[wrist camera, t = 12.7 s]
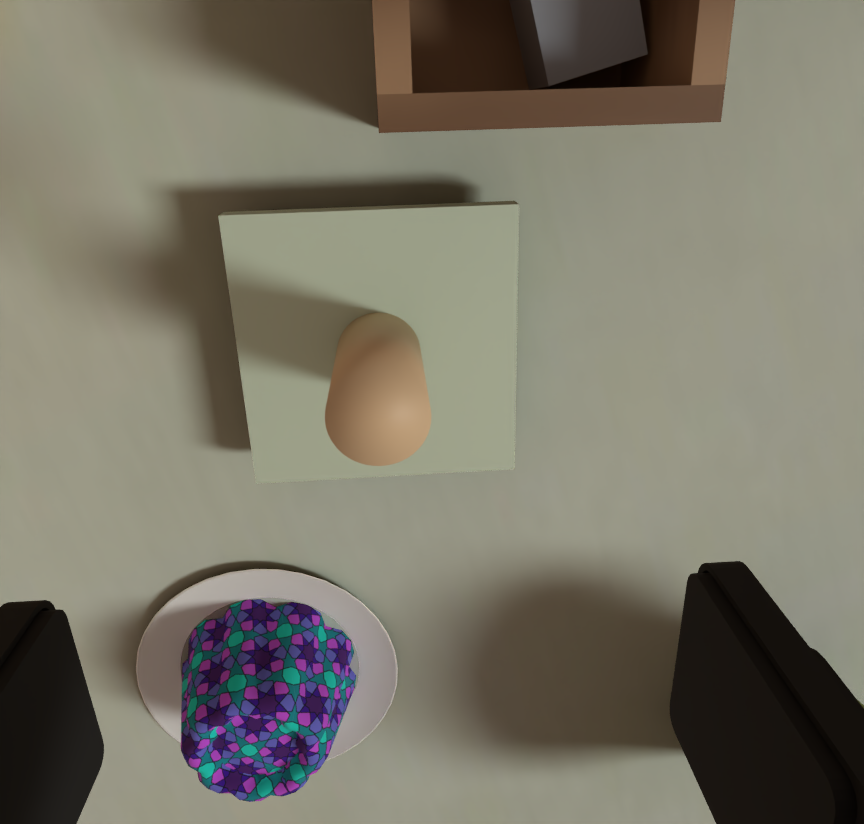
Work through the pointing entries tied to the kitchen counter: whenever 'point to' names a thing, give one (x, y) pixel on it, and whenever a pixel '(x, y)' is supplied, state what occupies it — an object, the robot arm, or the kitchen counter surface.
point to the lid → (376, 338)
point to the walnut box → (506, 79)
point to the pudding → (265, 679)
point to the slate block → (576, 37)
